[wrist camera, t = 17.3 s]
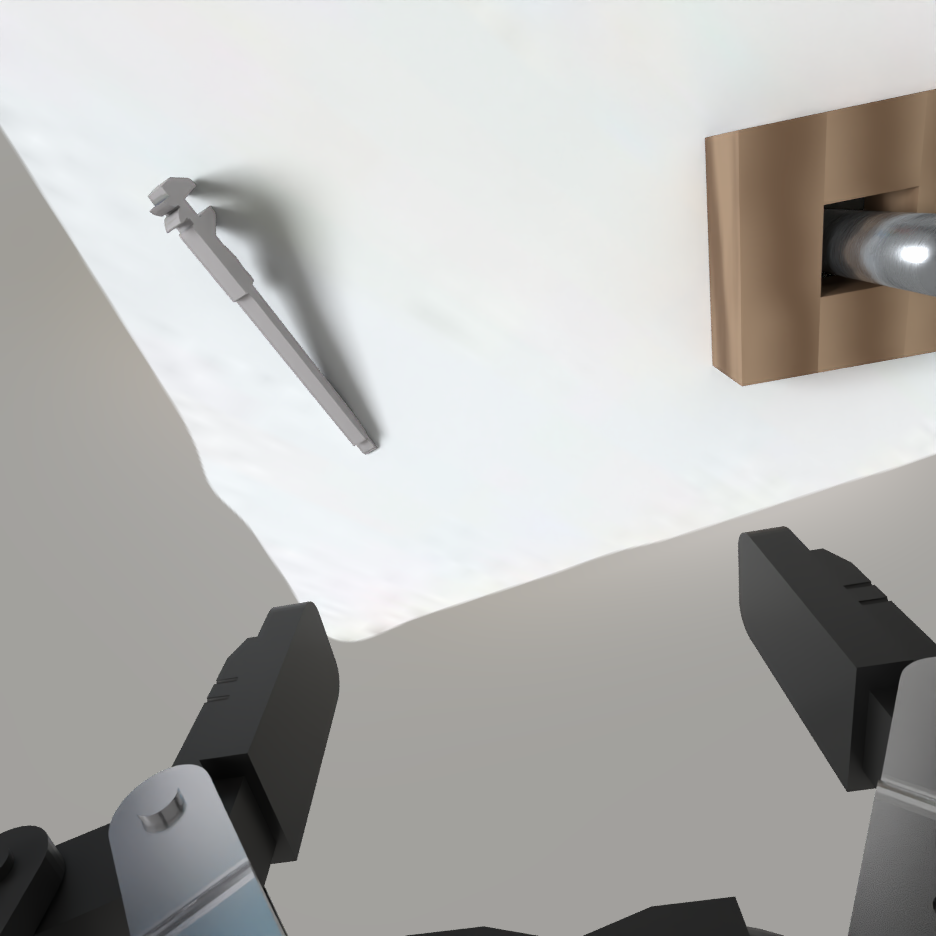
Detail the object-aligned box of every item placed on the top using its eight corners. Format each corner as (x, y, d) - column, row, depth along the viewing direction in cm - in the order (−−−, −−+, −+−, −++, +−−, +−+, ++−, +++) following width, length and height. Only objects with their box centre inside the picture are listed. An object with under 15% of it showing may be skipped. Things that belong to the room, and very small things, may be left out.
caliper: (179, 187, 38) (129, 187, 33) (193, 177, 38) (145, 175, 33) (366, 452, 46) (351, 490, 40) (378, 445, 45) (366, 482, 40)
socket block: (712, 365, 43) (742, 386, 38) (704, 137, 37) (738, 130, 33) (925, 326, 42) (982, 343, 37) (950, 86, 36) (1020, 71, 32)
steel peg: (779, 240, 39) (901, 258, 28) (828, 195, 38) (974, 196, 27) (811, 281, 40) (941, 314, 29) (860, 238, 39) (1014, 256, 28)
